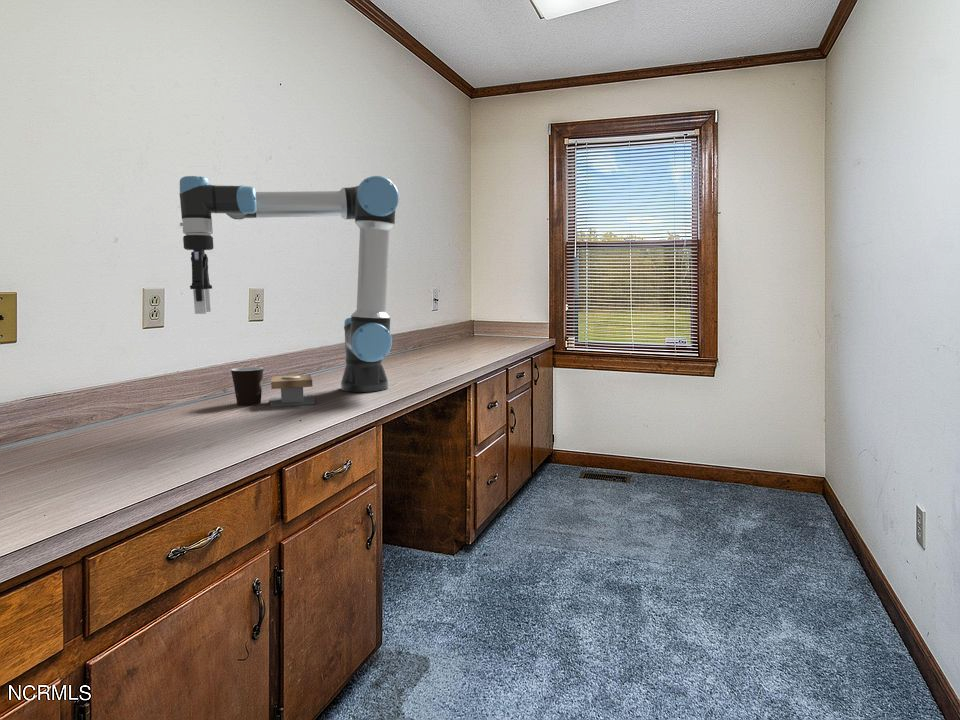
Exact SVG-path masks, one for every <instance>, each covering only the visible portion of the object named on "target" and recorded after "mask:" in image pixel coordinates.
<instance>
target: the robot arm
mask: <svg viewBox="0 0 960 720" xmlns="http://www.w3.org/2000/svg"><path fill="white" fill-rule="evenodd" d="M179 200H180V201H179V202H180V212H181V222H179V226H180V227H182V233H183V235H184V236H183V237H182V240H183V241H182V242H183V249H184V250H187V251H191V254H190V255H191V257H190V261H191V282H192V283H191V285H189V289H190V290H192V291H193V292H192V293H193V304H194V306H193V307H194V315H199V314H200V315H201V314H202V315H203V314H205V315H206V314H207V313H209V312H210V313H211V312H212V305H211V291H210V290H211V289H213V284H211V283H210V277H209V275H210V274H209V258H208V255H207V253H205V251H212V250H213V249H214V238H213V237H214V236H212V234H213V229H214V228H213V220H212V214H226V215H227V216H228V217H230V218H231V219H233V220H239V221H241V220H244V219H259V218H261V219H262V218H306V217H315V218H316V217H317V218H319V217H341V218H343V219H344V220H354V223H355V224H356V226H357V227H358V228H359V240H358V241H359V243H358V244H359V245H358V266H357V267H358V269H357V292H356V295H357V296H356V310H355V311H354V312H353V313H352V314H351V315H350V317H348V318H347V317H346V319H345V320H344V325H343V330H344V349H345V353H344V354H345V355H344V356H345V367H344V371H343V374H342V378H341V381H340V390H342V391H344V392H350V393H365V392H366V393H367V392H370V393H371V392H377V391H383V390H387V389H389V380H388V377H387V373H386V370H385V368H384V364H383V359H384V358H385V357H386V356H387V355H388V354H389V353H390V352H391V349H392V345H393V338H392V333H391V316H390V315H389V314H388V313H387V311H386V309H387V306H386V305H387V287H388V286H387V285H388V283H387V282H388V268H389V267H388V266H389V265H388V263H389V243H390V241H389V240H390V231H391V230H392V229H393V228H394V227H395V223H396V209H397V207H398V205H399V200H400V195H399V191H398V188H397V187H396V184H394V183H393V182H392V180H390V178H389V179H388V178H387V177H385V176H382V175H373V176H369V177H366V178H364V180H362V181H361V182H360V183H359V185H356V186H351V187H342V188H341V189H340V190H329V191H328V190H327V191H326V190H325V191H323V190H319V191H318V190H317V191H315V190H311V191H305V190H304V191H256V189H255V187H254V186H247V185H243V184H242V185H216V184H215V185H213V184H210V180H209V179H208V178H207V177H206V176H197V175H186V176H183V177H181V178H180V179H179Z"/></svg>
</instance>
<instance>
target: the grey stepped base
mask: <svg viewBox="0 0 960 720" xmlns="http://www.w3.org/2000/svg"><path fill="white" fill-rule="evenodd" d="M280 395H281V397H273V398H272V397H271V398H270V402H269V403H270V408H279V407H292V406H293V407H294V406H295V407H296V406H311V405H313V406H314V405H316V401H315V399H314V396H313V395H305V396H304V387H298V388H280Z"/></svg>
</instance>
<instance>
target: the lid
mask: <svg viewBox="0 0 960 720" xmlns="http://www.w3.org/2000/svg"><path fill="white" fill-rule="evenodd" d="M270 379H271V380H270V382H271V383H270V384H271V385H270V386H271V390H276V389H277V390H278V389H279V390H281V388H298V387H303V388H312V387H313V378H312V376H311V374H295V375H279V376H278V375H276V376H275V375H274V376H271V377H270Z"/></svg>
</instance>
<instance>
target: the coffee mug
mask: <svg viewBox="0 0 960 720" xmlns="http://www.w3.org/2000/svg"><path fill="white" fill-rule="evenodd" d="M230 371H231V377H232V382H233V389H234V394H235V399H236V404H237V406H241V407H242V406H243V407H244V406H256V405H260V404H262V394H263V393H262V392H263V391H262V390H263V379H264V367H262V366H244V367H236V368H232V369H230Z"/></svg>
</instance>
